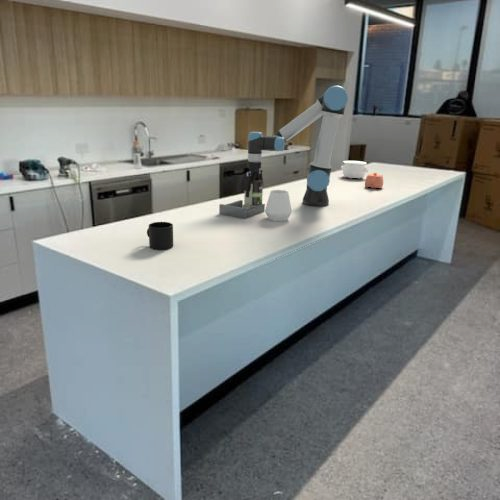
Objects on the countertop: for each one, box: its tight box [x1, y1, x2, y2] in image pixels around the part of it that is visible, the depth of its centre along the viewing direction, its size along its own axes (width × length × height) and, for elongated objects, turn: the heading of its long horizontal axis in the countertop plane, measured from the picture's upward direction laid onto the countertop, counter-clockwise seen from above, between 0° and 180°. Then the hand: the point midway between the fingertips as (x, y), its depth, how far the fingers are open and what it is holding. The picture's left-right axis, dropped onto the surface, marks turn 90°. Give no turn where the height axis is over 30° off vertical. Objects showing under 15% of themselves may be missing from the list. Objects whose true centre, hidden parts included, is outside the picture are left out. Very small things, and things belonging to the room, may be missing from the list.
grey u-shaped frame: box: [218, 199, 266, 219], centre depth 240 cm, size 16×20×5 cm
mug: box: [146, 221, 174, 251], centre depth 183 cm, size 9×12×9 cm
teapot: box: [364, 172, 384, 189], centre depth 318 cm, size 12×18×10 cm, turn 151°
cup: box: [264, 189, 293, 222], centre depth 229 cm, size 13×13×14 cm
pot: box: [340, 160, 369, 179], centre depth 356 cm, size 22×17×12 cm
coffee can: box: [243, 179, 264, 208], centre depth 256 cm, size 10×10×14 cm
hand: (253, 201), depth 257 cm, fingers closed on coffee can, 10 cm apart
